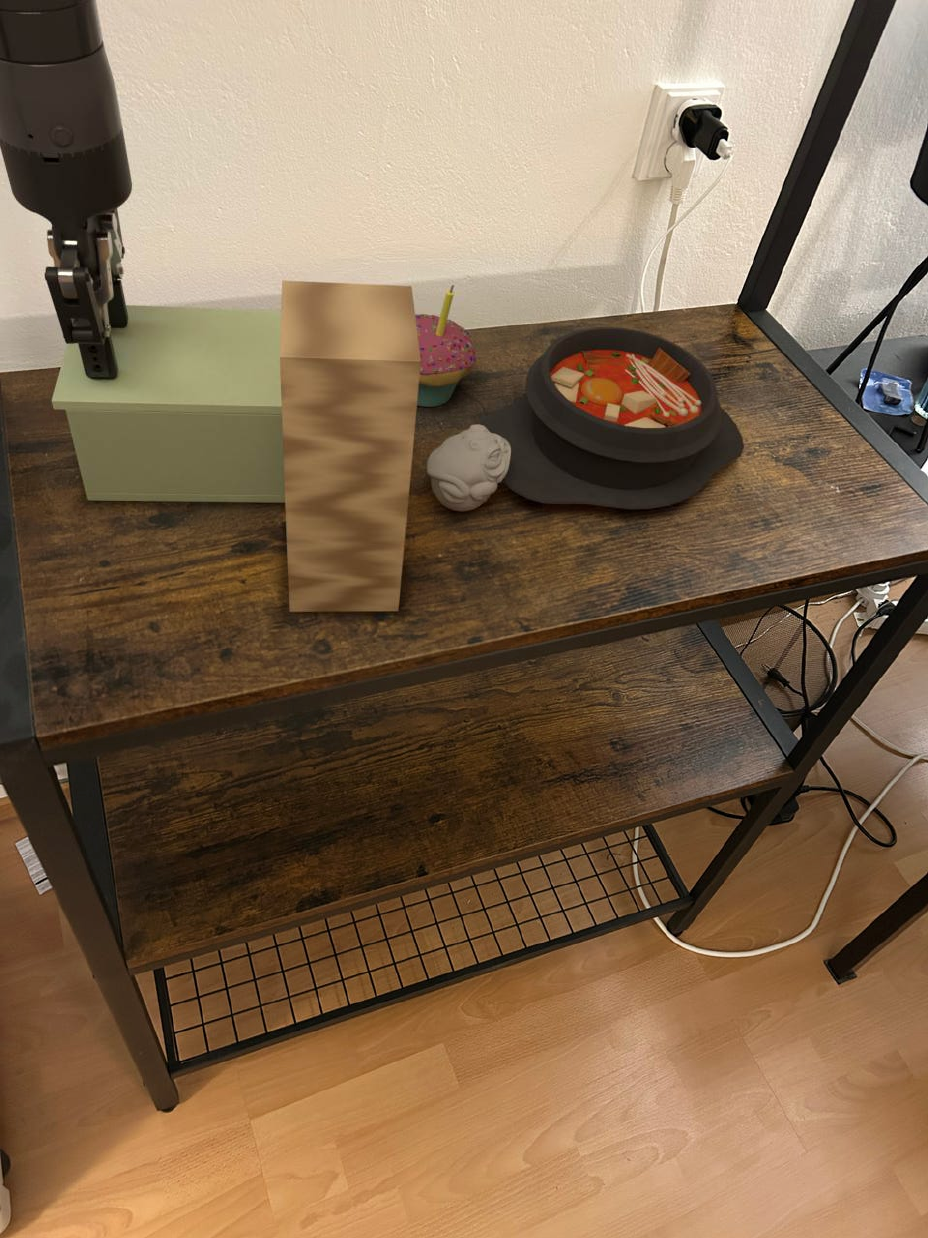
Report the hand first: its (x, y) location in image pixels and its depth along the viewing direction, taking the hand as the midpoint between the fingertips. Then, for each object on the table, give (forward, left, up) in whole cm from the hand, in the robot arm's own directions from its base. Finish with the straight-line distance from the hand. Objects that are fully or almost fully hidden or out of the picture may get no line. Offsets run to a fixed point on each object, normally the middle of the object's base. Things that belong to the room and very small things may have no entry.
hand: (108, 349), depth 73 cm
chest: (+5, 0, -10) cm, 11 cm away
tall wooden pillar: (+17, -14, -10) cm, 24 cm away
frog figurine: (+27, -6, -10) cm, 30 cm away
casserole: (+41, +1, -10) cm, 43 cm away
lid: (+5, 0, -1) cm, 5 cm away
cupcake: (+25, +9, -10) cm, 29 cm away
